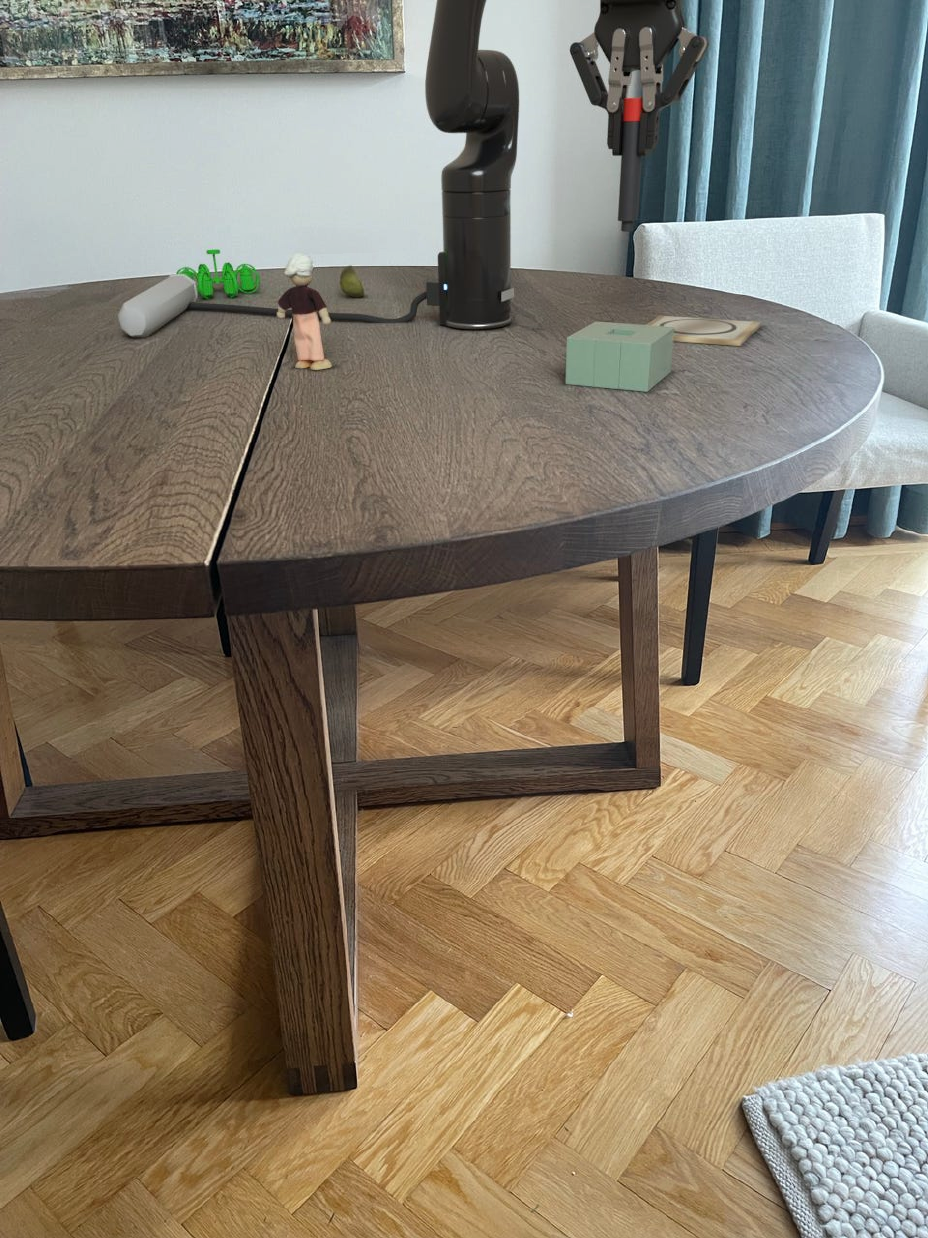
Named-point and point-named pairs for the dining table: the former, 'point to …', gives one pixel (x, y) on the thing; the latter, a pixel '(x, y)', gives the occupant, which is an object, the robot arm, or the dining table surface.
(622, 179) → the marker
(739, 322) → the square wooden coaster
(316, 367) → the grandmother figurine
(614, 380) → the pen stand
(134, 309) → the tube
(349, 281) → the lime
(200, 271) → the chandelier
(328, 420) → the dining table surface
